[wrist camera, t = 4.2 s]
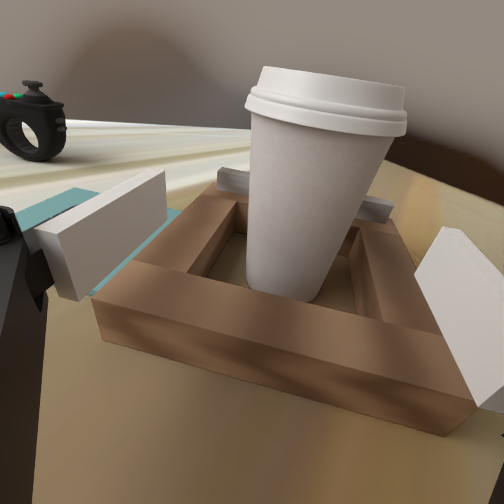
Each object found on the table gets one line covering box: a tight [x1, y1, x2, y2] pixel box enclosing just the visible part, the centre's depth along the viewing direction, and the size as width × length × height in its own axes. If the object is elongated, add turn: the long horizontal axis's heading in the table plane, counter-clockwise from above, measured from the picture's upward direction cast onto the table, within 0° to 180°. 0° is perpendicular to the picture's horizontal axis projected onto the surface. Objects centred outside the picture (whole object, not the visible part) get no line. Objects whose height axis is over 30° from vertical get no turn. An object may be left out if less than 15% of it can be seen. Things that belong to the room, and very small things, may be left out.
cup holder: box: [91, 167, 479, 437], centre depth 22 cm, size 20×20×6 cm
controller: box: [0, 81, 67, 161], centre depth 37 cm, size 4×12×10 cm, turn 83°
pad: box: [15, 188, 182, 296], centre depth 26 cm, size 14×14×1 cm
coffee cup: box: [245, 66, 407, 303], centre depth 20 cm, size 10×10×15 cm
